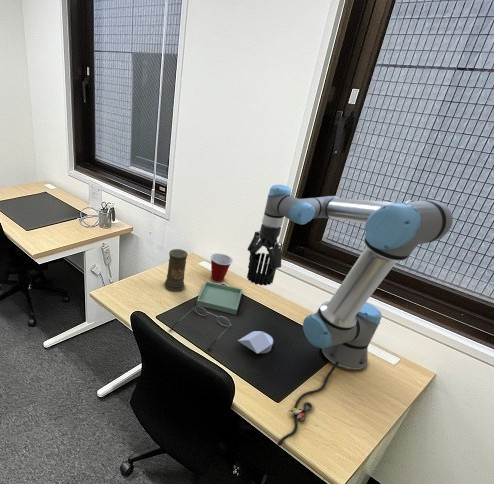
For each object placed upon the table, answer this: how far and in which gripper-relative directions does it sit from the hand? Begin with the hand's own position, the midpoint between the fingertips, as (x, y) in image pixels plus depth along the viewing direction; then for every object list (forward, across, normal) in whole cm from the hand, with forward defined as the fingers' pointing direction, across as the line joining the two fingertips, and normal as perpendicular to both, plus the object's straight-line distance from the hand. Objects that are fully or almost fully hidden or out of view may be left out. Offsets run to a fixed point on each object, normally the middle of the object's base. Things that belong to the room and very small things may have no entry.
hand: (259, 273), depth 161 cm
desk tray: (+17, +10, +10) cm, 22 cm away
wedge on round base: (+17, -24, +16) cm, 33 cm away
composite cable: (+17, -55, +23) cm, 62 cm away
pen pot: (-2, 0, -6) cm, 7 cm away
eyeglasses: (+17, -7, +31) cm, 36 cm away
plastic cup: (+17, +25, +1) cm, 30 cm away
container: (+17, +27, +25) cm, 40 cm away
